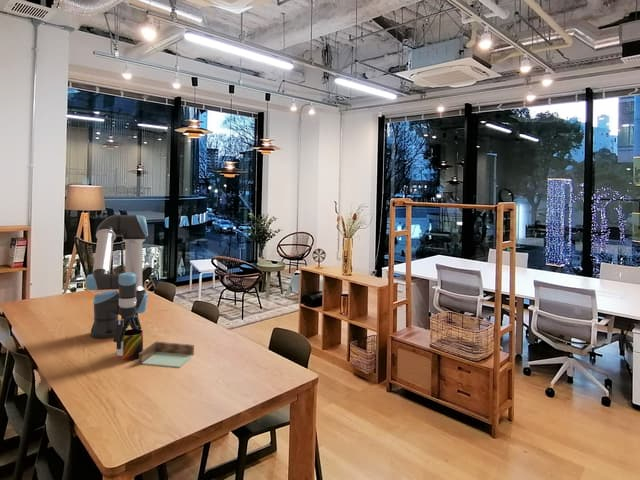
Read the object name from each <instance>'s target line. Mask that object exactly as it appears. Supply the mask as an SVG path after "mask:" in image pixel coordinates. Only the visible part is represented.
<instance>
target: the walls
mask: <svg viewBox="0 0 640 480" xmlns="http://www.w3.org/2000/svg"><path fill="white" fill-rule="evenodd" d="M156 352H166V353H178V354H189V355H193V356H194V355H195V344H189V343H187V344H186V343H176V342H174V343H173V342H166V341H165V342H163V341H154V342H153V343H152V344H151V345H149V346H148V347H146V348H145V349H143V351H142V352H140V353H139V359H138V365H143V364H142V363H143V362H144V361H146V360H147V359H148V358H150V357H151V356H152V355H154V354H155V353H156Z"/></svg>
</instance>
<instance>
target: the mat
mask: <svg viewBox="0 0 640 480" xmlns="http://www.w3.org/2000/svg"><path fill="white" fill-rule="evenodd" d="M192 357H194V355H189V354H178V353H166V352H156V353H155V354H154V355H152V356H151V357H150V358H148V359H147V360H146V361H144V362H143V363H142V364H141V365H146V366H147V365H148V366H155V367H156V366H157V367H166V368H167V367H168V368H180V369H181V367H182V366H184V365H185V364H186V362H188V361H189V360H190V359H191V358H192Z"/></svg>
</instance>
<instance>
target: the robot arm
mask: <svg viewBox="0 0 640 480" xmlns="http://www.w3.org/2000/svg"><path fill="white" fill-rule="evenodd" d="M95 233H96V234H95V238H96V239H97V240H96V247H95V254H94V259H93V268H92V273H90V274H87V275H86V278H85V287H86V289H87V290H88V291H100V292H98V293H95V295H94V297H93V323H92V327H91V330H90V336H91V337H92V338H94V339H109V338H113V340H112V341H113V343H116V356H119V357H121V356H123V341H122V340H123V337H124V334H125V331H126V330H128V328H129V326H130V329H140V330H142V325H141V322H140V319H139V314H144V313H145V312H146V310H147V303H148V297H149V292H148V291H146V288H145V287H144V286H143V243H144V242H145V241H146V238H147V237H149V231H148V224H147V218H146V217H145V216H144V215H138V214H137V215H135V214H134V215H133V214H132V215H128V214H124V215H123V214H114V215H110V216H108V217H106V218H105V219H104V220H102V222H100V224H98V226H97V228H96V231H95ZM117 237H121V238H122V241H123V242H124V245H125V246H124V248H125V249H124V250H125V256H124V258H125V259H124V260H125V262H124V266H125V269H124V271H125V272H122V273H111V268H112V266H111V265H112V258H113V249H114V241H115V240H116V238H117ZM119 316H120V317H121V319H119Z"/></svg>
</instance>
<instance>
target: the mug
mask: <svg viewBox="0 0 640 480" xmlns="http://www.w3.org/2000/svg"><path fill="white" fill-rule="evenodd" d="M122 341H123V356H120V360H121V361H125V362H126V361H127V362H130V361H131V362H133V361H137V360H138V361H139V353H140V352H142V351H143V350H144V330H142V329H132V328H129V329H126V331H125V334H124V337H123V340H122Z"/></svg>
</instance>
